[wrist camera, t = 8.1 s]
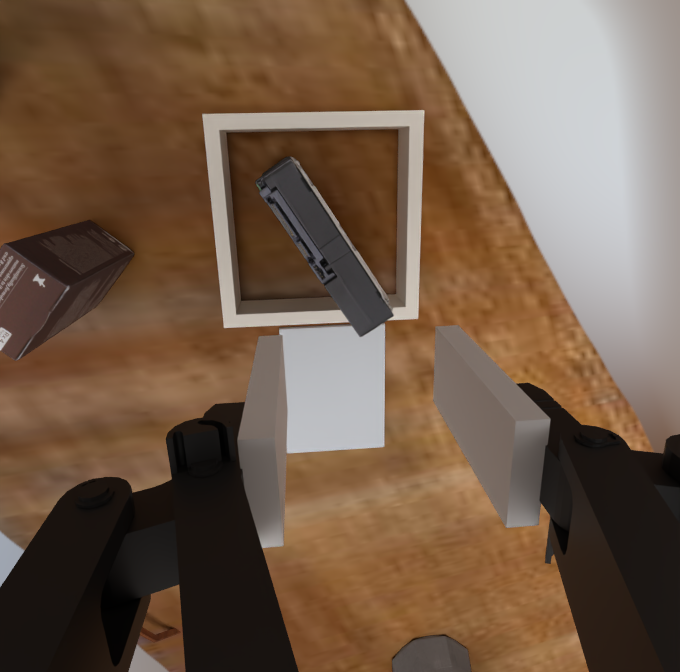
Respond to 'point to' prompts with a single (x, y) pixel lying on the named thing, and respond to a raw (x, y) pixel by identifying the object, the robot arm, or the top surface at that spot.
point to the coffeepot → (432, 656)
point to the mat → (334, 387)
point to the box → (54, 282)
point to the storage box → (223, 217)
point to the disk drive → (325, 245)
